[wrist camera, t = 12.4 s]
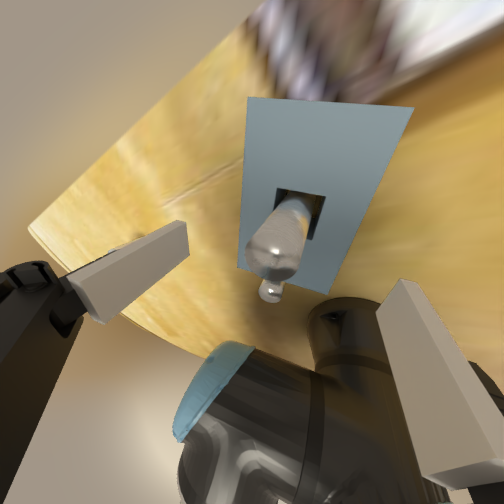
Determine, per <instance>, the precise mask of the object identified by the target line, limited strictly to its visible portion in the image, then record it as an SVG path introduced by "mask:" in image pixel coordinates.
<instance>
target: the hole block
mask: <svg viewBox="0 0 504 504" xmlns="http://www.w3.org/2000/svg"><path fill="white" fill-rule="evenodd" d="M413 110H414V108H413V107H398V106H382V105H366V104H351V103H335V102H319V101H304V100H288V99H272V98H257V97H248V99H247V115H246V132H245V148H244V164H243V181H242V197H241V213H240V230H239V246H238V262H237V268H241V269H244V270H247V271H250V272H253V271H252V270H251V269H250V268H249V266H248V264H247V262H246V260H245V247H246V245H247V243H248V241H249V240H250V239H251V238H252V236H253V235H254V234H255V233H256V232H257V230H258V229H259V228H260V227H261V226H262V224H263V223H264V222H265V221H266V220H267V218H268V217H269V216H270V215H271V214H272V212H273V211H274V210H275V209H276V208H277V206H278V205H279V204H280V203H281V201H282V200H283V199H284V198H285V195H286V190H287V189H288V190H293V191H299V192H304V193H310V194H315V195H321V196H322V199H321V202H320V206H319V209H318V212H317V215H316V218H313V217H311V220H310V224H309V228H308V232H307V236H306V240H305V244H304V248H303V253H302V257H301V261H300V265H299V268H298V270H297V272H296V273H295V275H293V276H292V277H291V278H289V279H287V280H284V281H283V282H286V283H290V284H293V285H296V286H299V287H303V288H306V289H309V290H313V291H316V292H319V293H322V294H326V295H328V293H329V290H330V288H331V286H332V284H333V282H334V280H335V278H336V275H337V273H338V271H339V269H340V267H341V265H342V262H343V260H344V258H345V256H346V254H347V252H348V250H349V247H350V245H351V243H352V241H353V239H354V237H355V235H356V232H357V230H358V228H359V226H360V224H361V222H362V219H363V217H364V215H365V213H366V211H367V209H368V207H369V204H370V202H371V200H372V198H373V196H374V194H375V192H376V189H377V187H378V185H379V183H380V181H381V179H382V176H383V174H384V172H385V170H386V168H387V166H388V164H389V161H390V159H391V157H392V155H393V153H394V151H395V149H396V146H397V144H398V142H399V140H400V138H401V136H402V133H403V131H404V129H405V127H406V125H407V123H408V121H409V118H410V116H411V114H412V112H413Z"/></svg>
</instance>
